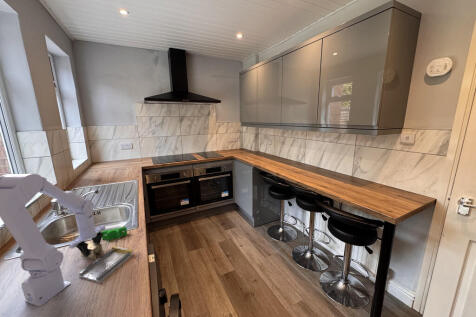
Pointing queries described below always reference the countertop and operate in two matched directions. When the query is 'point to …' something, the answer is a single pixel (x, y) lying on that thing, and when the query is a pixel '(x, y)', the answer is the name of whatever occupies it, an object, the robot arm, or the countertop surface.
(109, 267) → the silver channel bracket
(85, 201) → the robot arm
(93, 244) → the tan notched block
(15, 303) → the countertop surface
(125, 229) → the pipe clamp
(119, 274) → the countertop surface
